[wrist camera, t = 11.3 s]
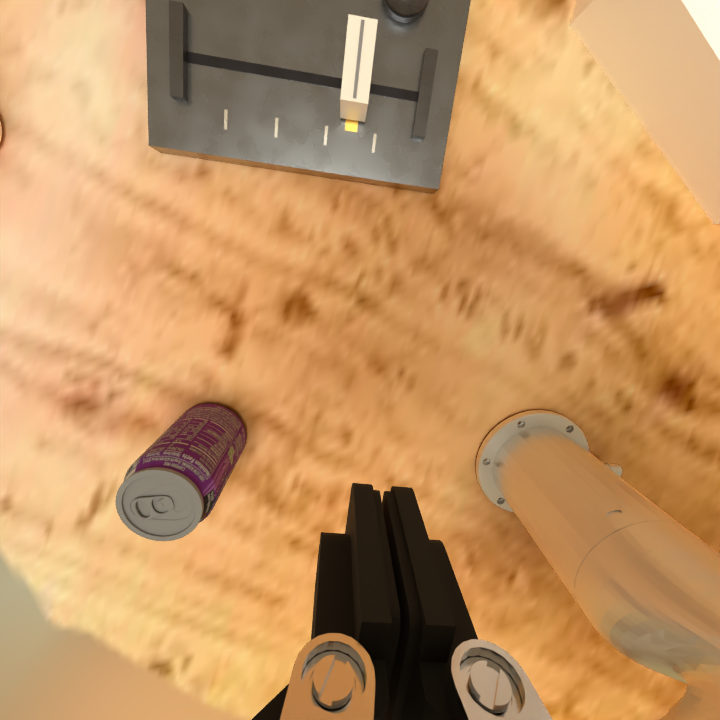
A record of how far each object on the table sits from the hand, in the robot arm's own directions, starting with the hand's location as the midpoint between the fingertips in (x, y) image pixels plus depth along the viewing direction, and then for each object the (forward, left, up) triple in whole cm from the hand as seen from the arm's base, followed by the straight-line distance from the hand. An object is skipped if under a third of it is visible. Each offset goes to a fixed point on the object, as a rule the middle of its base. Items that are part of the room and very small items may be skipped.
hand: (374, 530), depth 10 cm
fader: (+2, -20, -25) cm, 32 cm away
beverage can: (+13, +12, -27) cm, 33 cm away
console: (+6, -22, -27) cm, 35 cm away
